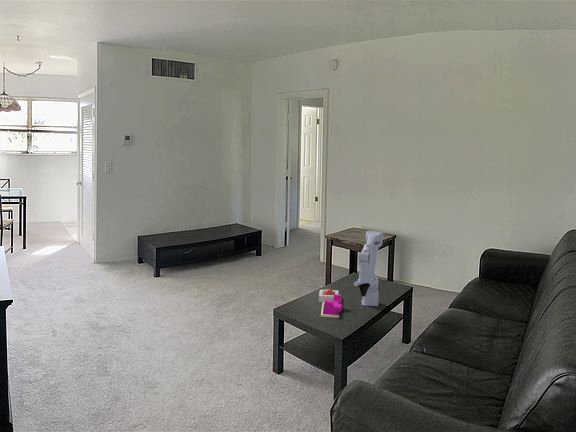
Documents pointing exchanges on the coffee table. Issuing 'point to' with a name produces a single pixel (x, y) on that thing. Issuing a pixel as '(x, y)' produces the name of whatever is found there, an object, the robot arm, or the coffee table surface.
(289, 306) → the coffee table surface
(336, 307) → the toy block
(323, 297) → the dome housing
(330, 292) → the dome
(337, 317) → the frame
